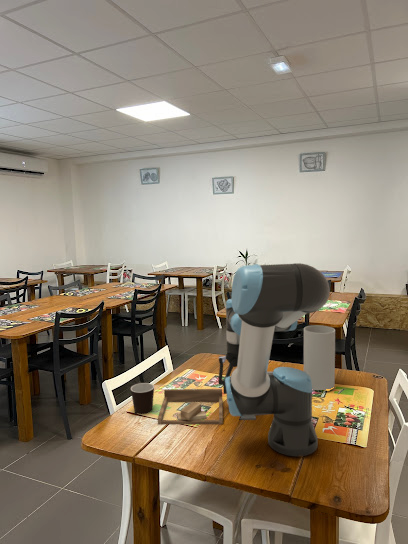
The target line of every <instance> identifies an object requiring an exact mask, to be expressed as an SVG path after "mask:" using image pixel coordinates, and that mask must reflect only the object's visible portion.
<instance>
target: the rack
mask: <svg viewBox="0 0 408 544" xmlns="http://www.w3.org/2000/svg"><path fill="white" fill-rule="evenodd" d="M163 391H164V395H163V396H164V397H163V401H162V404H161V406H160V410H159V413H158V416H157V425H224V423H223V422H224V421H223V388H191V389H190V388H189V389H187V388H186V389H184V388H183V389H182V388H181V389H180V388H177V389H175V388H174V389H170V388H169V389H167V388H166V389H165V388H164V390H163ZM192 402H196V403H218V419H202V420H178V419H177V420H175V419H173V420H172V419H171V420H169V419H166V420H164V417H165V414H166V409H167V406H168V403H192Z"/></svg>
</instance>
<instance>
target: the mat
mask: <svg viewBox="0 0 408 544" xmlns="http://www.w3.org/2000/svg"><path fill="white" fill-rule="evenodd" d="M256 416H257V415H253V416H244V417H241V416H239V417H238V418H239V419H238V421H240V420H241V421H246V420H247V421H256V420H257V418H256Z"/></svg>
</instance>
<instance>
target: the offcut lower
mask: <svg viewBox="0 0 408 544" xmlns="http://www.w3.org/2000/svg"><path fill="white" fill-rule="evenodd" d="M176 418H177V420H185V419H181V413H177V414H176ZM191 420H208V419H207V413H206V412H205V410H201V412H199V413H198V414H197V415H196V416H194V417H193V418H192V419H191Z"/></svg>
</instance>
